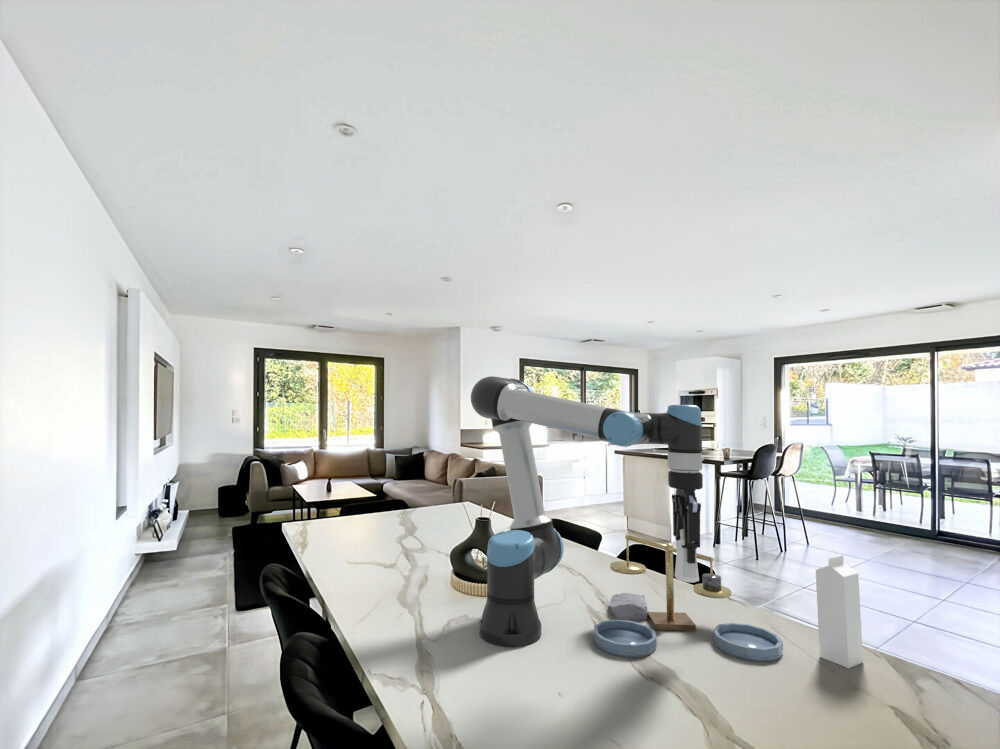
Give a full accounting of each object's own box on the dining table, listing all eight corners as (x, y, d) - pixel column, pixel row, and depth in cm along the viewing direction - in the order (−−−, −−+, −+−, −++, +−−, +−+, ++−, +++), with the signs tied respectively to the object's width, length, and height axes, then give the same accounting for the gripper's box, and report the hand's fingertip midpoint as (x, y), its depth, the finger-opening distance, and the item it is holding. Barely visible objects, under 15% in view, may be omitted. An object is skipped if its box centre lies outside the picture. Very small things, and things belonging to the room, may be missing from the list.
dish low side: (705, 647, 116) (705, 635, 116) (726, 629, 126) (726, 618, 126) (772, 668, 106) (771, 655, 106) (789, 646, 116) (788, 634, 117)
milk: (863, 662, 109) (858, 558, 111) (848, 669, 106) (844, 562, 108) (833, 651, 114) (829, 551, 116) (818, 657, 111) (814, 555, 113)
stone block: (612, 626, 132) (651, 621, 131) (608, 607, 133) (647, 601, 131) (611, 611, 144) (647, 606, 142) (608, 593, 145) (643, 588, 143)
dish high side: (582, 643, 117) (582, 632, 117) (613, 626, 127) (613, 615, 127) (638, 663, 108) (637, 651, 108) (666, 642, 118) (666, 631, 118)
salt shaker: (696, 584, 112) (696, 533, 112) (671, 579, 114) (671, 530, 115) (701, 578, 116) (700, 529, 117) (677, 573, 119) (676, 526, 120)
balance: (614, 630, 125) (613, 538, 127) (608, 616, 134) (607, 530, 136) (738, 633, 123) (735, 540, 125) (724, 618, 132) (721, 532, 134)
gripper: (715, 475, 109) (717, 586, 107) (689, 467, 126) (690, 563, 124) (680, 474, 109) (681, 585, 107) (659, 466, 126) (659, 562, 124)
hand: (686, 573), depth 115 cm, fingers closed on salt shaker, 4 cm apart
